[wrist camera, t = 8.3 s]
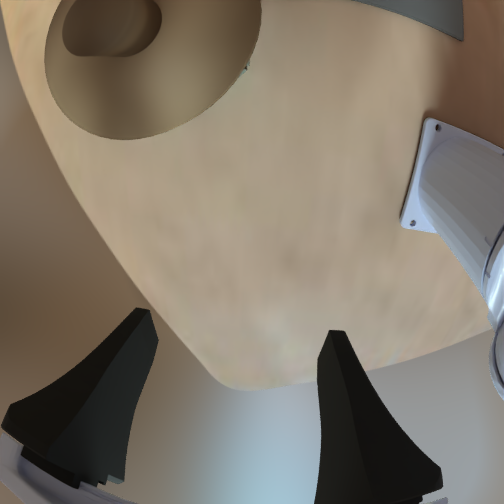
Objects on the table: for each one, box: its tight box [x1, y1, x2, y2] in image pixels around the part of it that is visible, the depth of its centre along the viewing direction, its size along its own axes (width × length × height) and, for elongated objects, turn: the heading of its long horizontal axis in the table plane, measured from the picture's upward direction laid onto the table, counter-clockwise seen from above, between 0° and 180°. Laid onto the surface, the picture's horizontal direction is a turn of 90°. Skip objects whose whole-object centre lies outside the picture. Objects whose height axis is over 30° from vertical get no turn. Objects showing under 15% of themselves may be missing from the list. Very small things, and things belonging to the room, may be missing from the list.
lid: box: [45, 0, 262, 140], centre depth 7 cm, size 12×12×4 cm
